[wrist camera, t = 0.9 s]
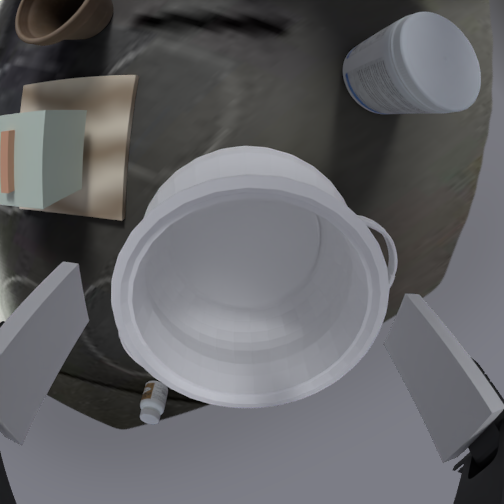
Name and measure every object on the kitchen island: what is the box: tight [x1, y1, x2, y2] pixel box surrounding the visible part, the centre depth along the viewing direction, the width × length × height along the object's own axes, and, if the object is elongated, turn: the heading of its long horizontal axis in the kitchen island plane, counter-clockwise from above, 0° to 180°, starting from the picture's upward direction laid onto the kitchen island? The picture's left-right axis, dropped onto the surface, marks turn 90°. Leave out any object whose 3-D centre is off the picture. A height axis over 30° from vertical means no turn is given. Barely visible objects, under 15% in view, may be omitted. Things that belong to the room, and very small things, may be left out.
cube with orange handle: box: [0, 110, 87, 209], centre depth 23 cm, size 9×9×9 cm
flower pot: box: [15, 0, 113, 46], centre depth 19 cm, size 12×11×10 cm
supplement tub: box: [343, 12, 481, 114], centre depth 22 cm, size 10×10×15 cm
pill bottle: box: [140, 381, 168, 425], centre depth 45 cm, size 4×4×8 cm
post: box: [19, 75, 139, 221], centre depth 26 cm, size 18×18×11 cm
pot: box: [111, 146, 398, 408], centre depth 30 cm, size 26×24×17 cm
